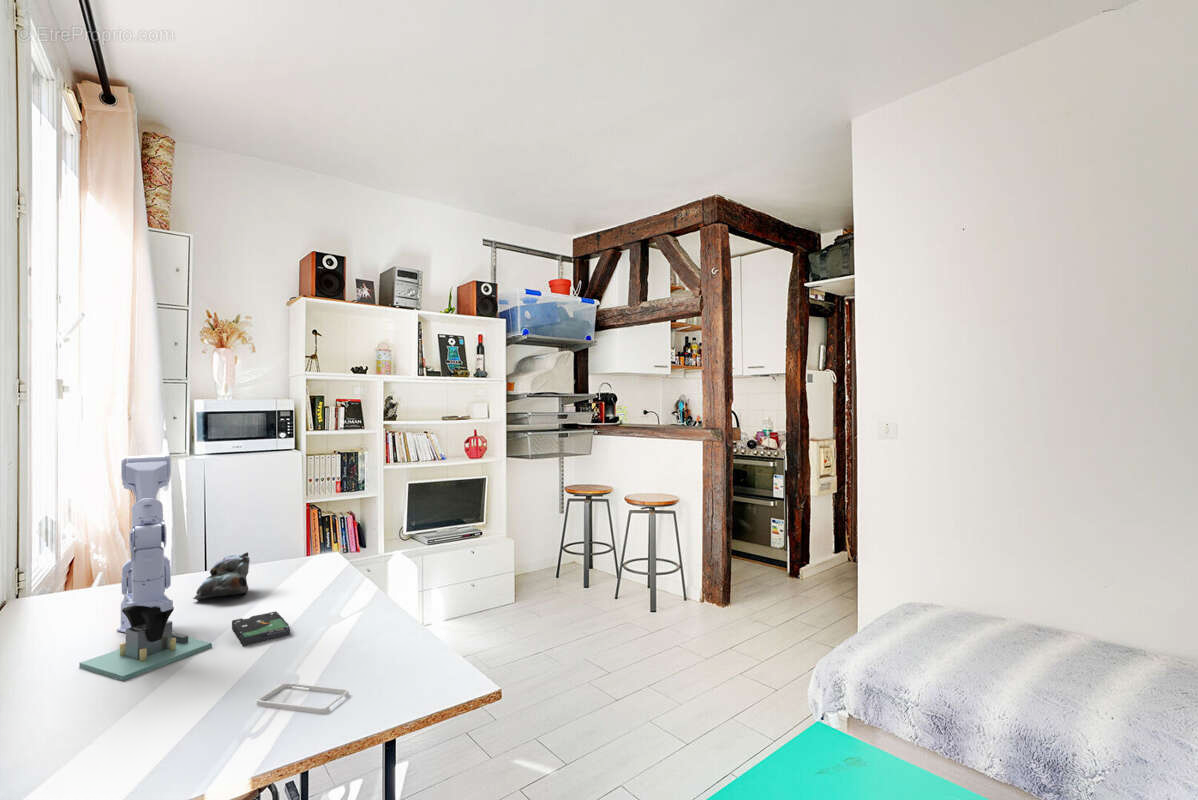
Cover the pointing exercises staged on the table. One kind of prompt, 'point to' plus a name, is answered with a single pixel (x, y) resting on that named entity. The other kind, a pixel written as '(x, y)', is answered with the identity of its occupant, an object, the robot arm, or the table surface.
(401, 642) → the table surface
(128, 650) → the dark grey block
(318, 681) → the table surface
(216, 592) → the grey lumpy piece
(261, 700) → the phone case
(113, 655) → the teal peg board
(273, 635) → the disk drive
